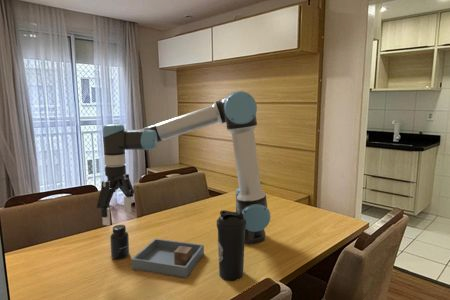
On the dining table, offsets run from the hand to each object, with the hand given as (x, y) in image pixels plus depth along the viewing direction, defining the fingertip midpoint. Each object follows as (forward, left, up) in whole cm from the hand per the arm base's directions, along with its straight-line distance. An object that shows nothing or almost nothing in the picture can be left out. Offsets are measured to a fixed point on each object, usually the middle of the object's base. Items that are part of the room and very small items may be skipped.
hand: (117, 218), depth 117 cm
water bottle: (-46, +1, -16) cm, 49 cm away
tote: (-21, -1, -16) cm, 26 cm away
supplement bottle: (0, 0, -16) cm, 16 cm away
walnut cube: (-27, -1, -15) cm, 31 cm away
